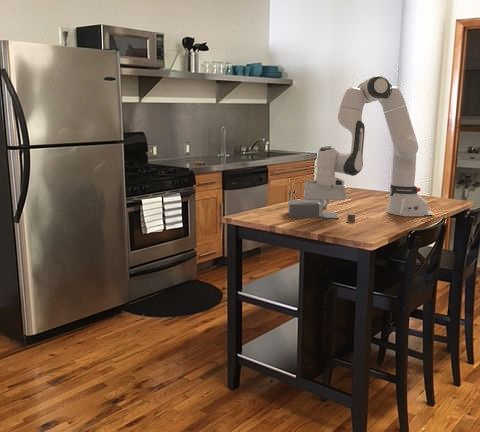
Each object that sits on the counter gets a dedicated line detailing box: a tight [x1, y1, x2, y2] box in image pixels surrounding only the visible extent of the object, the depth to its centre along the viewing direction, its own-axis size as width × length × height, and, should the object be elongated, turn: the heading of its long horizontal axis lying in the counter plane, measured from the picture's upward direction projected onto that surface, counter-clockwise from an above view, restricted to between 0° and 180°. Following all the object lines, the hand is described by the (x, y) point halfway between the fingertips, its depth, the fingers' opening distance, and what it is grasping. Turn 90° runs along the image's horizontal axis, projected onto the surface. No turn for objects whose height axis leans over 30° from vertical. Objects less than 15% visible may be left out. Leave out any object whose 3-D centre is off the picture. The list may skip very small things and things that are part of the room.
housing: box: [288, 199, 339, 220], centre depth 262 cm, size 23×13×6 cm, turn 87°
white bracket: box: [318, 202, 323, 216], centre depth 262 cm, size 14×13×5 cm
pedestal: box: [346, 212, 356, 223], centre depth 250 cm, size 3×3×4 cm
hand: (324, 208), depth 261 cm, fingers closed
